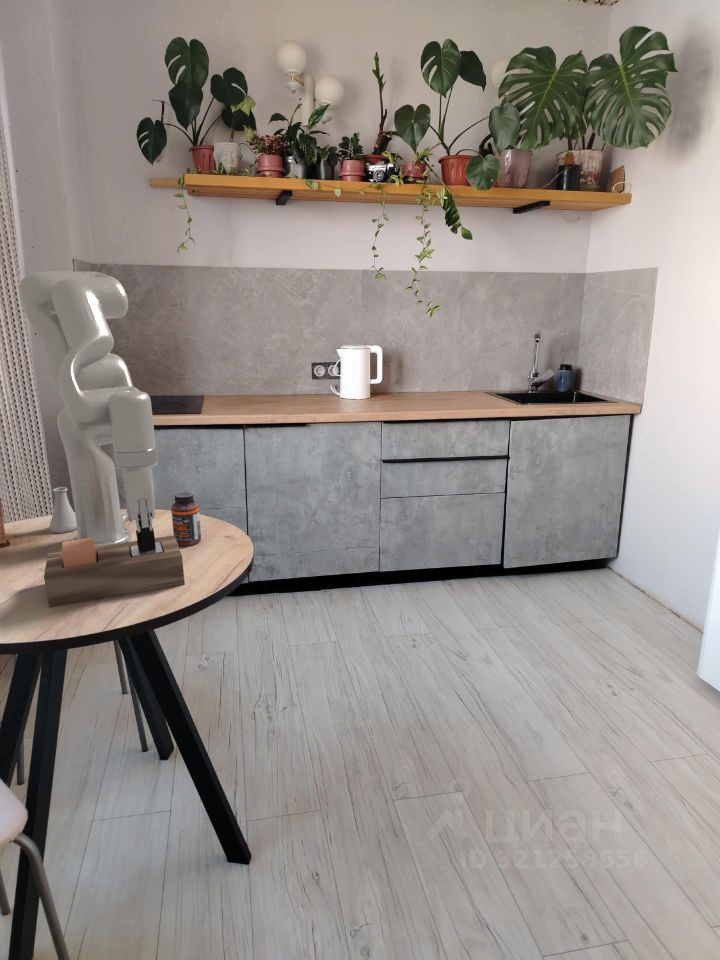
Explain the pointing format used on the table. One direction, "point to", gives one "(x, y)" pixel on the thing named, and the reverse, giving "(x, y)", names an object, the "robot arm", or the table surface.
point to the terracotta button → (79, 552)
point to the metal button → (136, 552)
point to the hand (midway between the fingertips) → (147, 549)
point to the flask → (62, 513)
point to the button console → (113, 573)
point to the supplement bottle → (186, 519)
